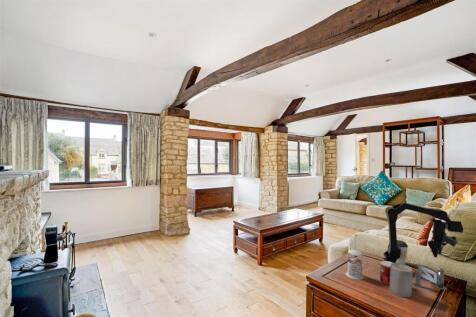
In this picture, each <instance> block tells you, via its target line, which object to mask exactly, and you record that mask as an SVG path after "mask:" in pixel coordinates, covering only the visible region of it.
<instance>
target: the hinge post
mask: <svg viewBox="0 0 476 317" xmlns="http://www.w3.org/2000/svg"><path fill="white" fill-rule="evenodd" d="M437 273H438V284H435V283H433V284H434V286H435V287H436V288H437V290H438V289H439V290H442V291H443V290H444V291H448V288H447V287H445V283H444V282H445V270H444V269H443V268H438V269H437Z"/></svg>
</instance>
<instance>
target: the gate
mask: <svg viewBox="0 0 476 317" xmlns="http://www.w3.org/2000/svg"><path fill="white" fill-rule="evenodd" d="M417 270H418V271H420V278H421V277H422V278H423V279H425V280H428V281H429V282H431V283H433V284H437V285H438V272H435V271H433V270H431V269H429V268H427V267H425V266H423V265H420V264H418V265H417ZM432 275H433V277H432Z"/></svg>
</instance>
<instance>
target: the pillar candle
mask: <svg viewBox="0 0 476 317" xmlns="http://www.w3.org/2000/svg"><path fill="white" fill-rule="evenodd" d="M413 270H414V269H413V268H412V267H410V266H409V265H406V264H405V265H404V264H401V263H391V265H390V286H389V291H390V292H391V293H392V294H393V295H395V296H398V297H400V298H411V297H412V295H413Z"/></svg>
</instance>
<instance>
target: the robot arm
mask: <svg viewBox="0 0 476 317" xmlns="http://www.w3.org/2000/svg"><path fill="white" fill-rule="evenodd" d="M406 210H408V211H412V212H417V213H420V214H424V215H427V216H430V217H432V218H430V219H428V221H429V222H431V223H432V224H433V225H432V231H431V233H432V237H431V239H430V240H428V241H427V245H428V247H429V249H430V251H431V253H432V255H433V257H434V258H436V259H437V258H438V255H441V254H442V252H443V250H444V247H445V246H446V245H450V246H451V247H454V248H455V247H456V246H457V244H458V243H459V240H457V237H456V236H455V235H452V236H449V235H448V234H447V232H446V231H448V232H449V233H451V232H452V233H456V234H457V233H459V234H463V232H464V227H463V224H462V221H460V220H452V219H450V217H449V214H448V213H447V211H445V210H443V209H441V208H435V207H434V208H433V207H425V206H421V205H416V204H412V203H407V202H404V201H402V202H400V203H396V204H394V205H392V206H387V207H386V208H385V216H386V219H387V224H388V242H389V243H388V245H387V249H386V250H385V251H384V252H382V253H383V261H389V262H392V263H396V261H397V259H399V258H400V255H401V248H400V247H399V246H397V240H398V237H397V220H398V217H399V214H402V213H404V211H406Z"/></svg>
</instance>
